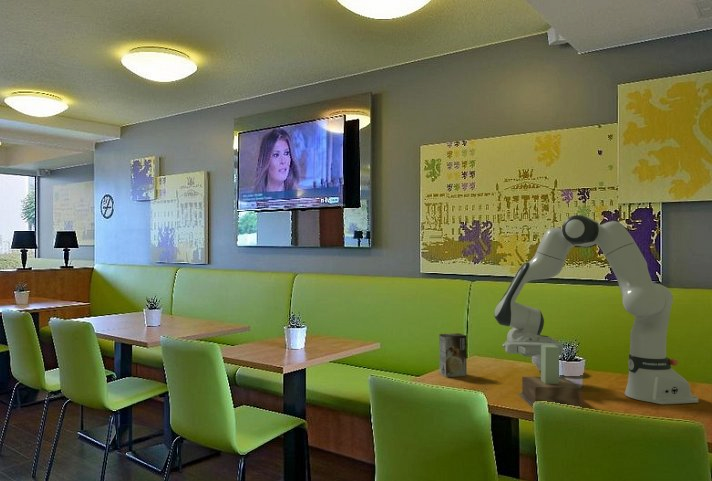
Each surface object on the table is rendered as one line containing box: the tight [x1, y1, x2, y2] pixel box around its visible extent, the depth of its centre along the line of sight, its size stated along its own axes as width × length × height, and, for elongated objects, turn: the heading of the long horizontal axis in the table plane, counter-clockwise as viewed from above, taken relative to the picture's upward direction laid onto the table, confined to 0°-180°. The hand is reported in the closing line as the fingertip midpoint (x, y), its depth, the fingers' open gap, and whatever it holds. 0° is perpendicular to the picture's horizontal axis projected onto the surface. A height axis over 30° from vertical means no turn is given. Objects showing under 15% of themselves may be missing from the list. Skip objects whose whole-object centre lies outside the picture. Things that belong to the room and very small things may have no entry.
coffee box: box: [438, 332, 468, 378], centre depth 224 cm, size 9×6×16 cm
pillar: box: [540, 345, 559, 384], centre depth 188 cm, size 4×4×12 cm
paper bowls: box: [531, 355, 541, 372], centre depth 233 cm, size 15×15×8 cm
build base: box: [518, 376, 583, 407], centre depth 188 cm, size 16×16×6 cm
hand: (540, 351), depth 198 cm, fingers open, 8 cm apart
